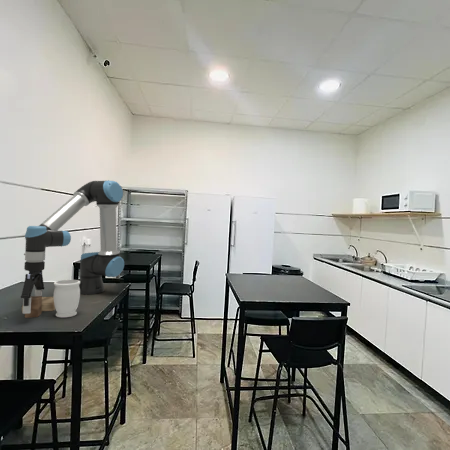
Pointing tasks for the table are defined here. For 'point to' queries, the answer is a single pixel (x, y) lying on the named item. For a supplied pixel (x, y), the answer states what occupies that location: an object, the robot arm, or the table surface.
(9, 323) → the table surface
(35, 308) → the block
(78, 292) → the jar
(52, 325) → the table surface
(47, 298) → the base
